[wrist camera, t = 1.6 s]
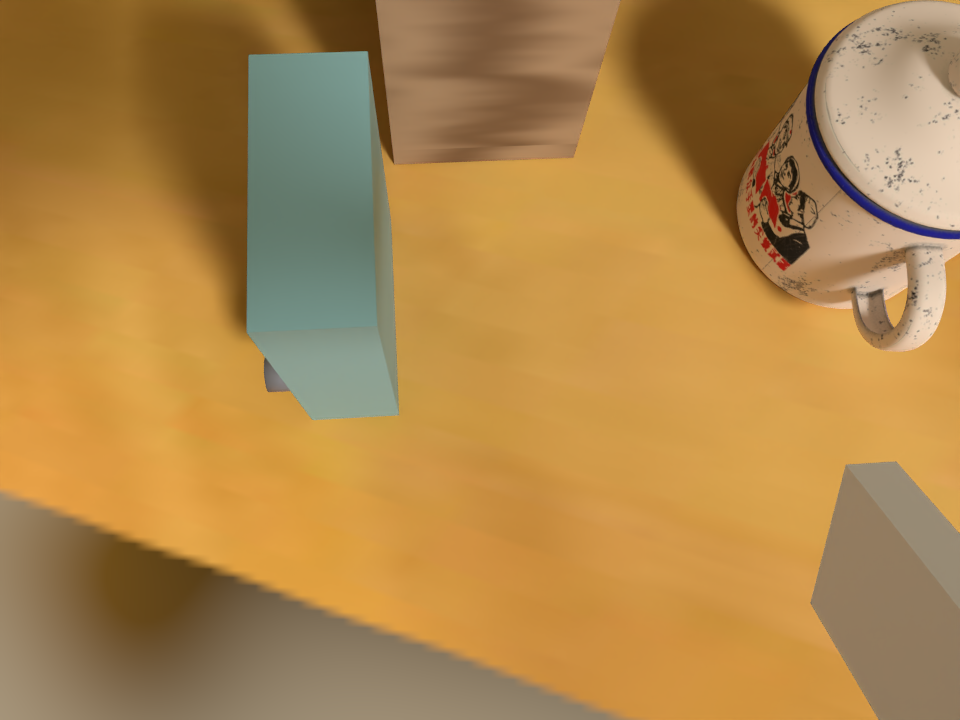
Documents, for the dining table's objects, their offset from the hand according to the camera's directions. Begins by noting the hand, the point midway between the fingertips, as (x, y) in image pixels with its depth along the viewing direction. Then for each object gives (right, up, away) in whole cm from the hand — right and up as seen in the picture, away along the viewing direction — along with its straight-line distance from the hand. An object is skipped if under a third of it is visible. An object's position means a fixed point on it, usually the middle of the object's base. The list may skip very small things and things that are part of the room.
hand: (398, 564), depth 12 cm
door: (-4, +5, +23) cm, 24 cm away
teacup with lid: (+17, +8, +25) cm, 31 cm away
